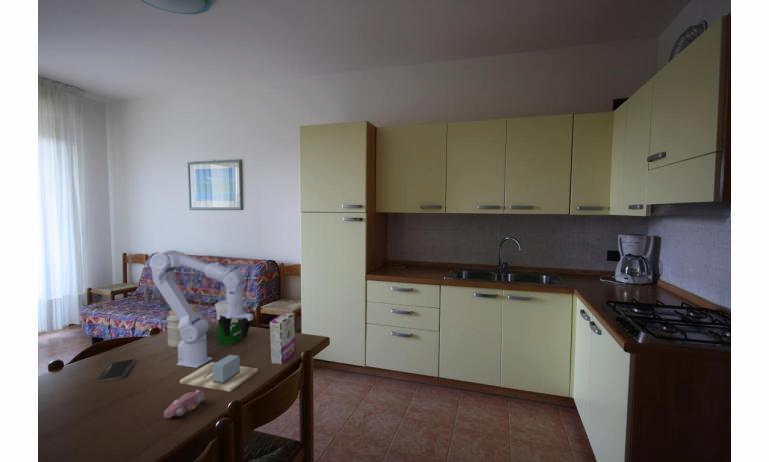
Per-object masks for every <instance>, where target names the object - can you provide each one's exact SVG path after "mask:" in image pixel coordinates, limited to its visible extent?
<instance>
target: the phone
mask: <svg viewBox="0 0 769 462" xmlns="http://www.w3.org/2000/svg"><path fill="white" fill-rule="evenodd" d="M135 363H136V359H135V358H133V359H132V358H131V359H126V360H125V359H124V360H118V361H112V362H111V363H109V364H108V366H107V367H106V368H105V370H104V371H103V372H102V374H100V375H99V378H98V379H97V383H106V382H110V381H116V380H123V379H125V378H127V376H128V374H129V373H130V371H131V369H132V368H133V366H134V365H135Z"/></svg>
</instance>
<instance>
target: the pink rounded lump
mask: <svg viewBox="0 0 769 462" xmlns="http://www.w3.org/2000/svg"><path fill="white" fill-rule="evenodd" d="M205 398H206V394H205V393H204V391H202V390H199V389H196V390H195V391H190V392H187V393H184V394H183V395H182V396H180V397H179V398H177V399H175V400H173V402H172V403H171V404H169V406H168V407H167V408H166V409H165V410H164V412H163V417H164V419H170V418H172V417H173V416H177V417H182V416H183V415H185V413H186V412H187V409H188V410H189V411H193V410H195V409H196V408H197V406H198V405H199V404H201V402H202V401H204V399H205ZM185 407H187V409H186V408H185Z"/></svg>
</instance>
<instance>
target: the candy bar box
mask: <svg viewBox="0 0 769 462" xmlns="http://www.w3.org/2000/svg"><path fill="white" fill-rule="evenodd" d="M295 328H296V327H295V313H292V312H291V313H290V312H283V313H282V314H280V315H278V316H276V317H275V318H274V319H272V320H270V321H269V337H270V360H271V361H270V362H271V363H270V364H273V365H283V364H285V362H287V361H288V360H289V359H290V358H291V357H292V356H293V355H295V354H296V352H297V351H296V334H295V333H296V329H295Z"/></svg>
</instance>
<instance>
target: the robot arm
mask: <svg viewBox="0 0 769 462" xmlns="http://www.w3.org/2000/svg"><path fill="white" fill-rule="evenodd" d="M148 265H149V267H150V269H151V274H152V281H153V283H154V284H155V286H156V288H157V289H158V290H159V292H160V294H161V295H162V296H163V299H164V300H165V301H166V303H167V304H168V305H169V307H170V308H171V310H173V312H174V313H175V315H176V316H177V318H178V320H179V325H178V329H179V330H180V333H181V338H182V340H181V341H180V343H179V345H178V347H177V359H178V361H177V363H176V366H181V367H188V368H193V369H194V368H199V367H200V366H203V365H204V364H206V363H207V362H209V361H210V362H211V361H212V360H213V357H211V356H208V349H207V348H208V347H207V345H208V344H207V343H208V342H207V332H208V331H209V328H210V325H209V324H210V323H208V321H207V320H206V319H205V318H203V317H202V316H201V315H199V314H197V313H195V312H194V311H193V310H192V308H191V307H190V305H191V304H189V302H188V301H187V300H186V298H185V296H184V294H183V293H182V292H181V290H180V288H179V286H178V285H177V283H176V282H175V280H174V279H173V275H174V273H175V270H176V269H178V267H186V268H188V269H192V270H196V271H199V272H202V273H204V274H205V277H206V278H209V279H212V280H214V281H217V282H219V283H223V285H224V286H225V288H226V291H225V296H226V298H225V300H226V302H227V311H221V312H218V318H220V319H219V320H218V323H219V324H220V326H221V327H222V330H223V332H224V335H225V337H227V336H229V335H230V326H231V320H232V318H234V319H240V322H239V325H240V329H241V340H244V339H246V338H247V337H248V334H249V329H250V327H251V325H252V322H253V320H254V314H253V313H248V312H246V311H244V297H243V296H244V295H243V294H244V293H243V292H244V291H243V282H244V280H245V273H244V272H243V271H241V270H240V269H238V268H236V269H235V268H234V269H233V268H232V267H226V266H224V265H222V264H221V263H220V262H210V263H209V264H208V263H207V262H204V261H202V260H200V259H197V258H195V257H193V256H190V255H188V254H186V253H184V252H181V251H177V250H175V249H174V250H173V249H172V250H171V249H170V250H168V251H165V252H164V251H163V252H158V253H155V254H153V256H152V257H151V258H150V262H149V264H148Z"/></svg>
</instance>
